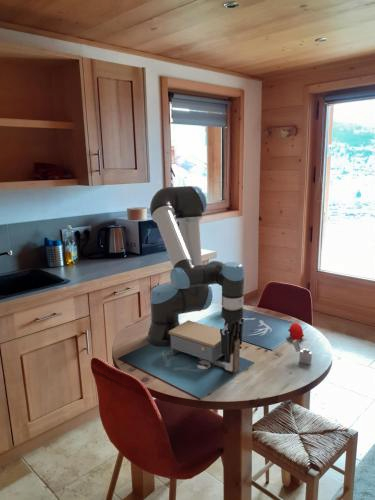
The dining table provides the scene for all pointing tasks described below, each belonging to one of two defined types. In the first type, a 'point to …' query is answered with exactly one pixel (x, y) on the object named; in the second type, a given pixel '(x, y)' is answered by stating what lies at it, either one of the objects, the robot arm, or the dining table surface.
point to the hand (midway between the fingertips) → (231, 367)
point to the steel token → (203, 365)
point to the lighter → (303, 353)
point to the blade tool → (235, 357)
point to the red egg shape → (296, 331)
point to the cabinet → (196, 340)
